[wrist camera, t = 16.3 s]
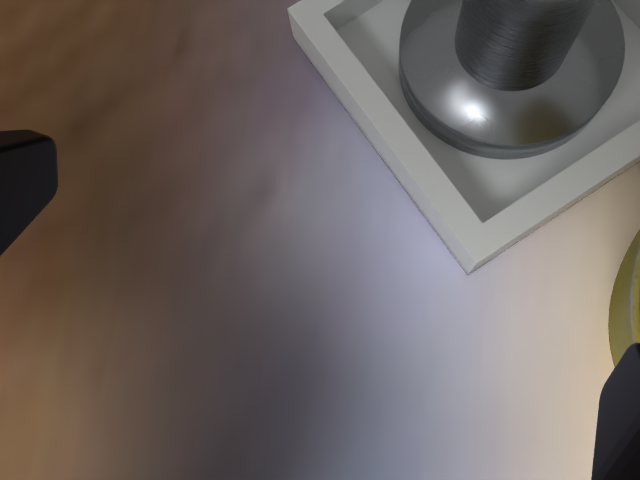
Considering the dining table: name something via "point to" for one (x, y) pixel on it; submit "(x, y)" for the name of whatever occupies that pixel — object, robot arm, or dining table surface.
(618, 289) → the flower pot
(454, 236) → the tray
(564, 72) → the steel stop
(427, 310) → the dining table surface
